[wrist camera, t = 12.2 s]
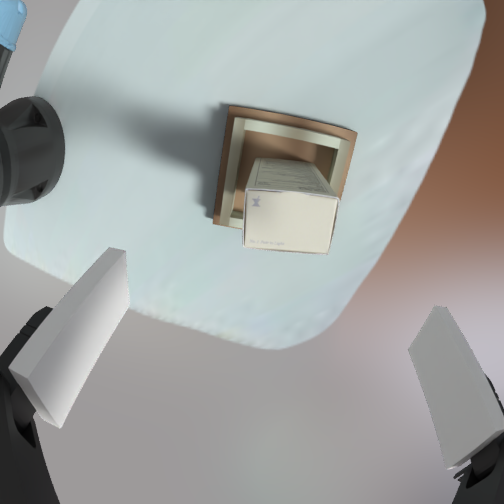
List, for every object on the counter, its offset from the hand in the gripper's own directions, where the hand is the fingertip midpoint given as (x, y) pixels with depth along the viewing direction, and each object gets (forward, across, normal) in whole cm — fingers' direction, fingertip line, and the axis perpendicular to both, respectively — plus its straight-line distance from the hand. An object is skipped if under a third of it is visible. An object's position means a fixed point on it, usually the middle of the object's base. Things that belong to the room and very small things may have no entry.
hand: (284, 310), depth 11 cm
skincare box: (+21, 0, 0) cm, 21 cm away
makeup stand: (+22, 0, 0) cm, 22 cm away
